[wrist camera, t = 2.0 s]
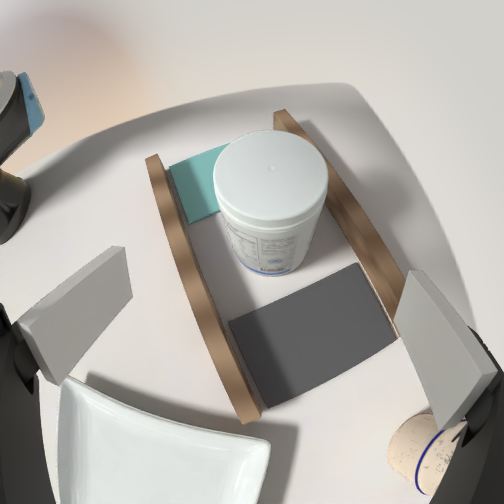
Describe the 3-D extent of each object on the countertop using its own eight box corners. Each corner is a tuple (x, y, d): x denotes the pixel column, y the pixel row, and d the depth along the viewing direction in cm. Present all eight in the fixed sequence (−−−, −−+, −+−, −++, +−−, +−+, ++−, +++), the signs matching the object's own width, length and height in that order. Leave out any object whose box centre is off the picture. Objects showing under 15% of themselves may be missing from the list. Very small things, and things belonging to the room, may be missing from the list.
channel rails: (153, 175, 40) (144, 159, 36) (284, 127, 42) (285, 109, 39) (245, 417, 27) (242, 424, 23) (411, 328, 29) (427, 324, 25)
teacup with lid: (387, 484, 21) (429, 519, 11) (379, 429, 25) (428, 454, 14) (459, 444, 22) (512, 457, 11) (454, 391, 25) (512, 391, 14)
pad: (169, 168, 40) (168, 166, 40) (269, 131, 42) (269, 129, 42) (189, 224, 36) (188, 222, 36) (303, 179, 38) (303, 177, 38)
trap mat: (228, 322, 31) (228, 321, 31) (355, 263, 33) (356, 262, 33) (267, 408, 27) (267, 408, 27) (395, 340, 29) (396, 339, 29)
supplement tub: (270, 197, 37) (270, 113, 23) (324, 242, 34) (354, 168, 21) (216, 243, 35) (187, 170, 21) (270, 296, 32) (272, 246, 18)
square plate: (273, 431, 26) (274, 440, 23) (236, 572, 16) (233, 586, 13) (75, 372, 29) (58, 371, 26) (71, 511, 19) (59, 518, 16)
